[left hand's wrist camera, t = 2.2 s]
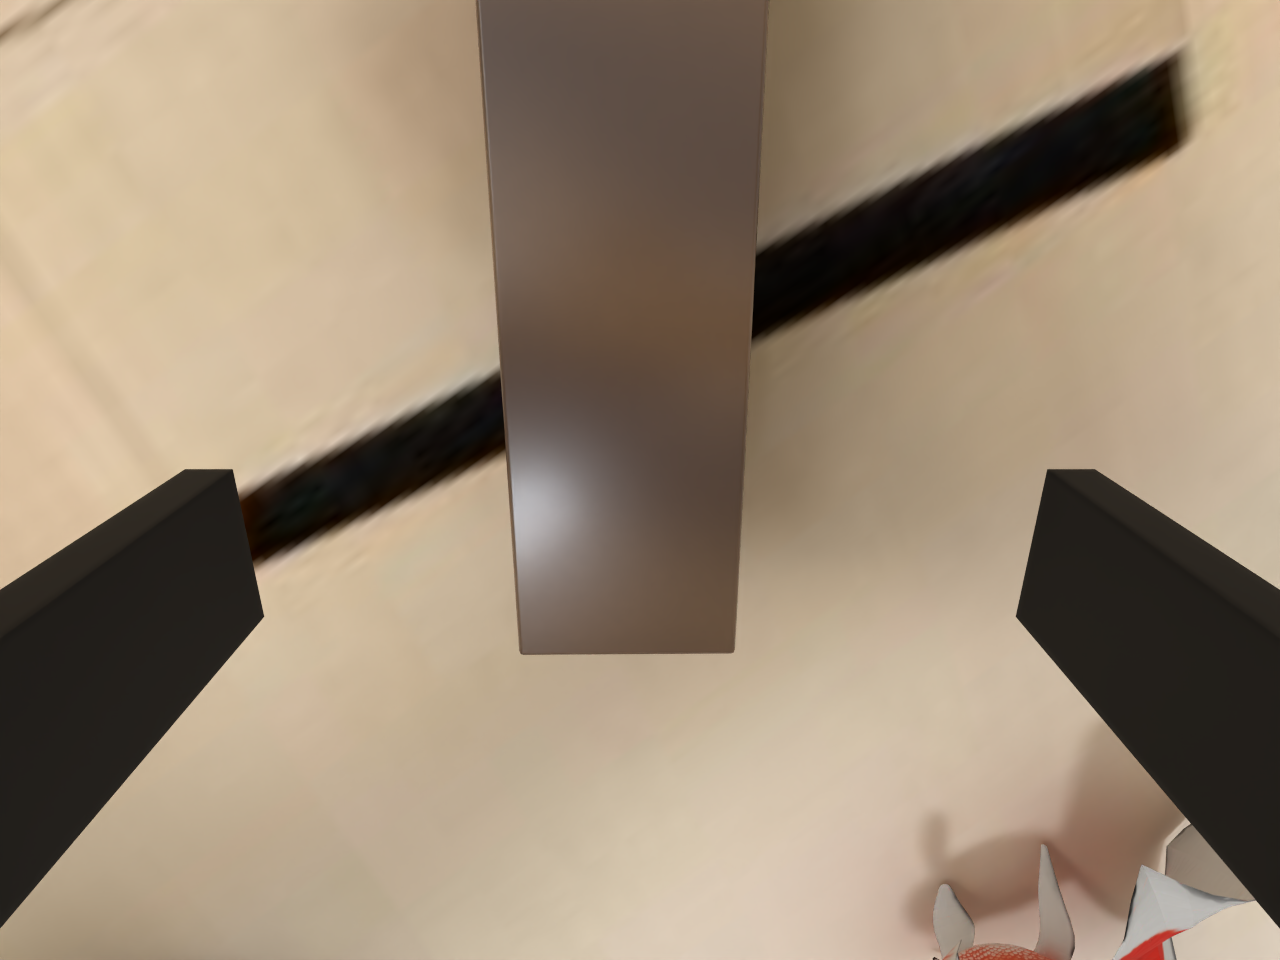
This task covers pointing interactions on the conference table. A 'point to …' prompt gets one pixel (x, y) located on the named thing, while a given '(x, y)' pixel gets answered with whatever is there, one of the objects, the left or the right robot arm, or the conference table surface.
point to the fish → (1154, 915)
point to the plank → (624, 310)
